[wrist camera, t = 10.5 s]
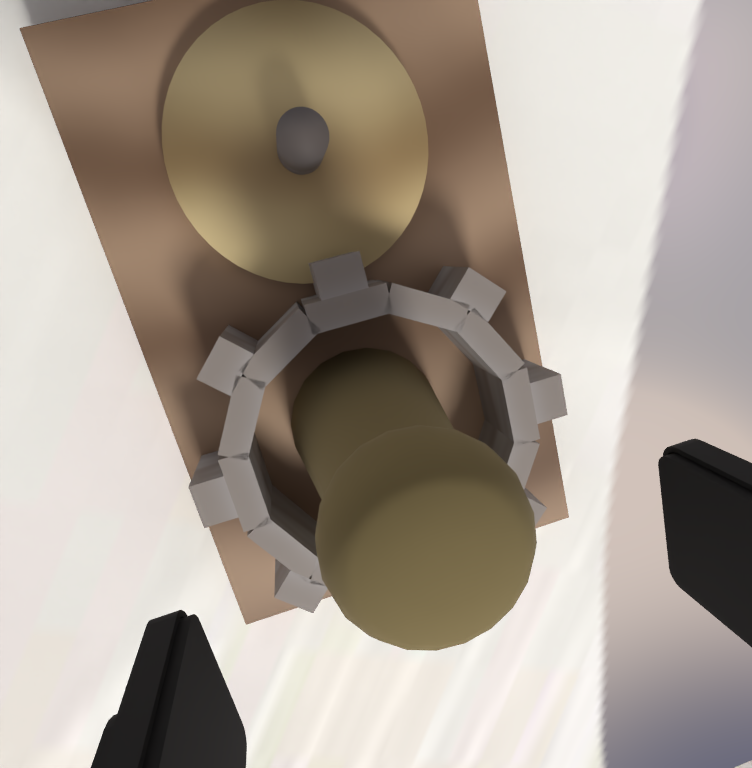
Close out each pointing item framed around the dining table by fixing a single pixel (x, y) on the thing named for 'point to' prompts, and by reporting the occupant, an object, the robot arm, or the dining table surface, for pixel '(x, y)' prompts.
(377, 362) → the cork
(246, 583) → the gear board
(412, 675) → the dining table surface
